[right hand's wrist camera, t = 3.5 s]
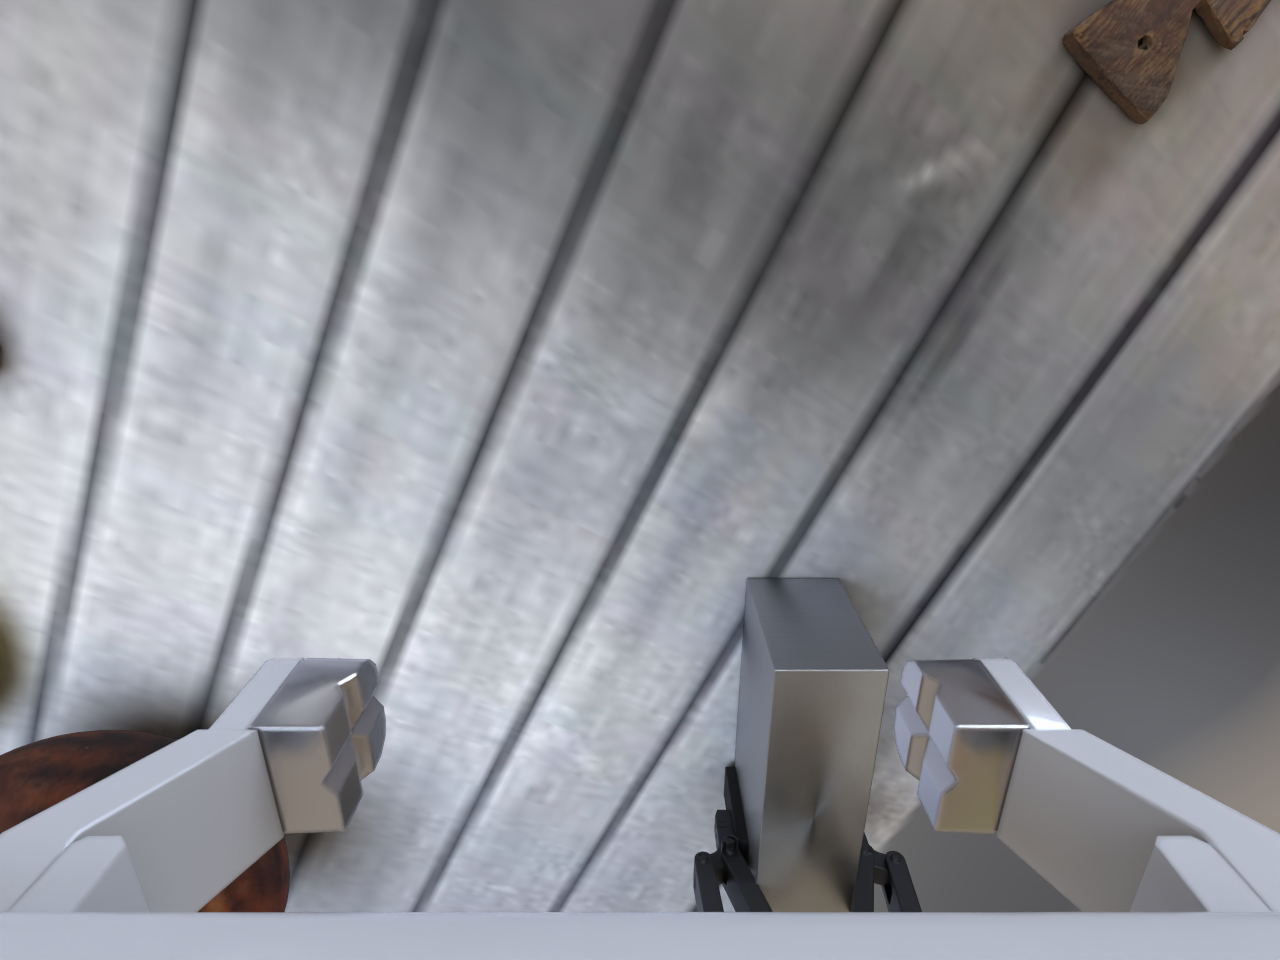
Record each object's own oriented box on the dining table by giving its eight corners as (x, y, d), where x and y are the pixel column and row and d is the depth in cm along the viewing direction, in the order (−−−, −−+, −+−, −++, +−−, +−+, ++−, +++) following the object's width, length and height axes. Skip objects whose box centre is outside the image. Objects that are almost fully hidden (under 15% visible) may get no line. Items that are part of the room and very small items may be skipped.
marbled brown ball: (-65, 901, 50) (-335, 1040, 32) (106, 673, 57) (-36, 680, 38) (225, 1014, 54) (133, 1198, 35) (355, 788, 60) (334, 845, 42)
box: (746, 578, 46) (774, 670, 37) (838, 578, 46) (890, 670, 37) (731, 813, 54) (751, 939, 45) (810, 813, 54) (847, 939, 45)
